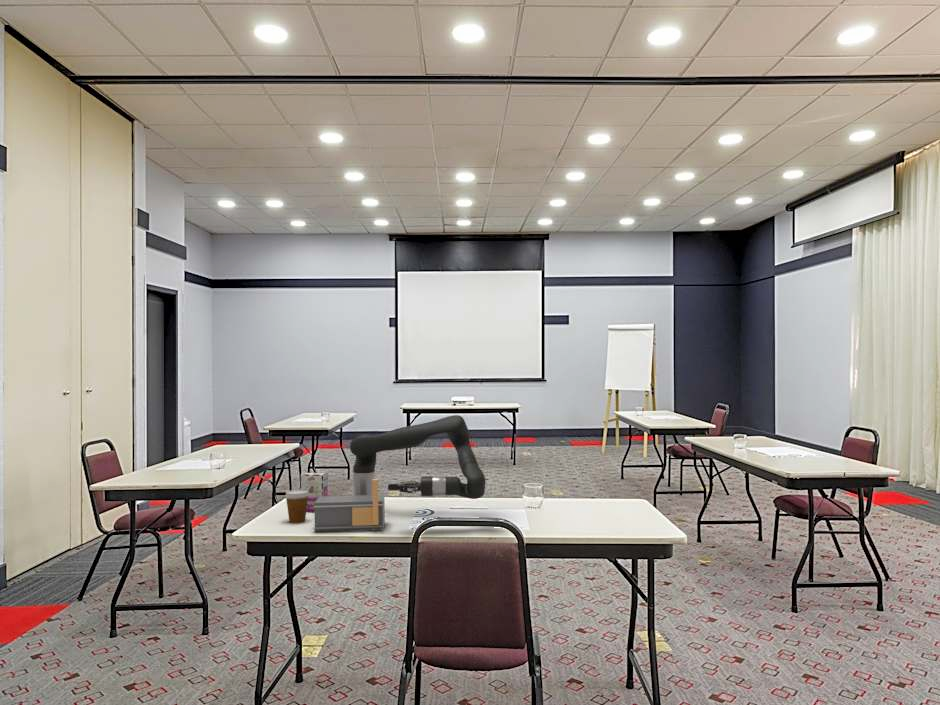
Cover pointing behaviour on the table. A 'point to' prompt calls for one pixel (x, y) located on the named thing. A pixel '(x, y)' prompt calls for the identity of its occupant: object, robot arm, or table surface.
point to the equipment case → (344, 512)
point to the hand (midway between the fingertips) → (388, 487)
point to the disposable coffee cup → (297, 505)
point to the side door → (367, 510)
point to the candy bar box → (314, 487)
